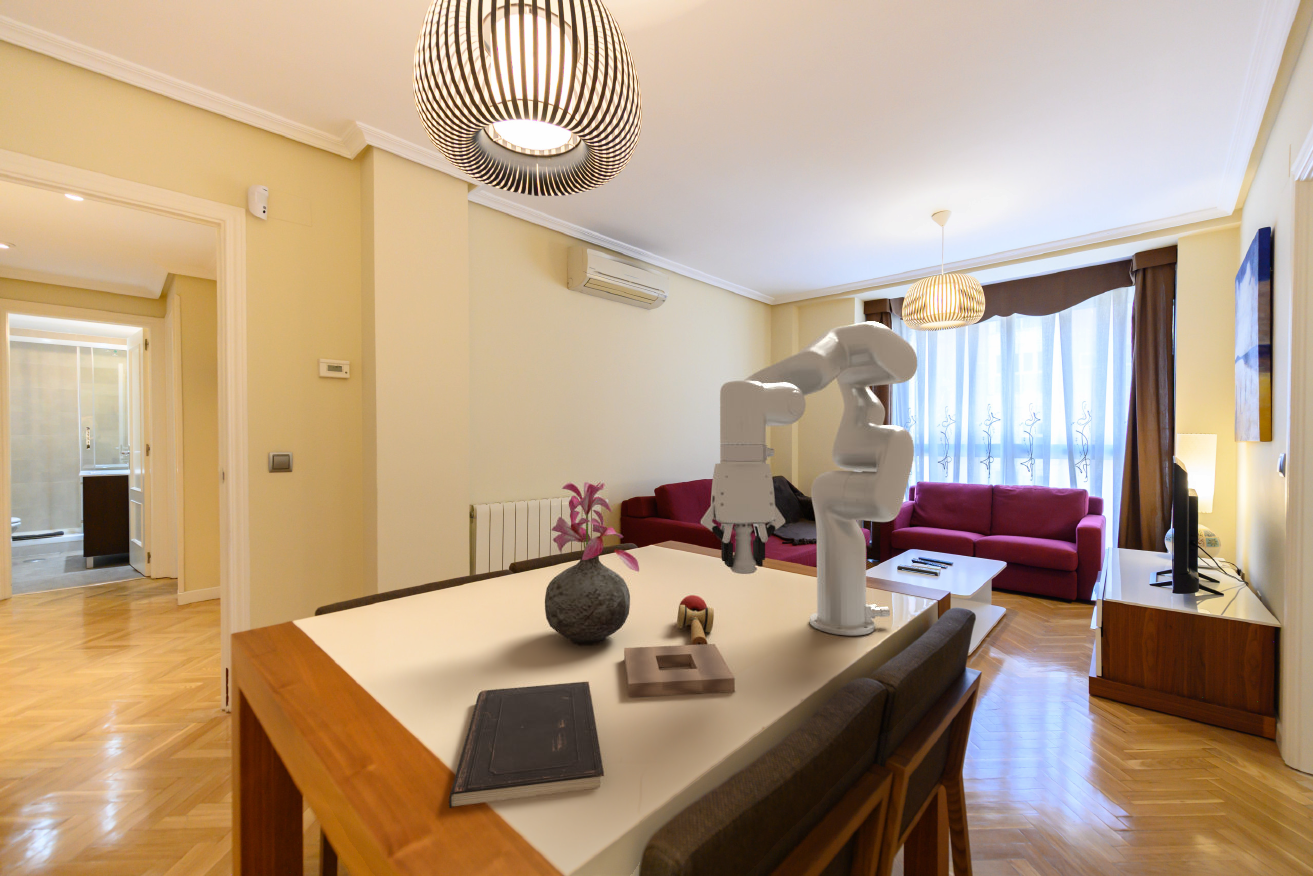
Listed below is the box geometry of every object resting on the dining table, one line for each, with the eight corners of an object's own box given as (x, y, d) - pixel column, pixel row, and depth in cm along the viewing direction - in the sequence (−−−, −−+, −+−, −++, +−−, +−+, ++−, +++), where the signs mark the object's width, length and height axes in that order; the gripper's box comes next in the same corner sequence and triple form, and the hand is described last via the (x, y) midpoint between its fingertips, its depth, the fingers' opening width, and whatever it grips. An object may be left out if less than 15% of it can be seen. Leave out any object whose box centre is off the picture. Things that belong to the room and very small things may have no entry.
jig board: (714, 655, 95) (714, 643, 95) (734, 691, 81) (734, 678, 81) (624, 659, 94) (624, 648, 94) (628, 697, 80) (628, 683, 80)
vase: (540, 629, 109) (539, 481, 110) (623, 620, 115) (622, 478, 115) (550, 660, 93) (549, 487, 94) (646, 648, 99) (645, 484, 99)
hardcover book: (588, 696, 81) (588, 681, 81) (603, 794, 59) (603, 773, 59) (477, 706, 78) (477, 690, 78) (448, 814, 56) (448, 791, 56)
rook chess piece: (727, 568, 92) (727, 521, 92) (753, 567, 92) (752, 520, 92) (733, 574, 87) (733, 525, 87) (760, 574, 88) (760, 524, 88)
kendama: (725, 658, 98) (712, 613, 115) (719, 626, 97) (707, 585, 115) (683, 666, 98) (677, 620, 115) (676, 634, 97) (671, 592, 115)
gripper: (783, 454, 95) (784, 559, 94) (689, 455, 93) (689, 561, 92) (799, 455, 87) (800, 569, 87) (697, 456, 85) (697, 572, 85)
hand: (743, 564), depth 90 cm, fingers closed on rook chess piece, 4 cm apart
